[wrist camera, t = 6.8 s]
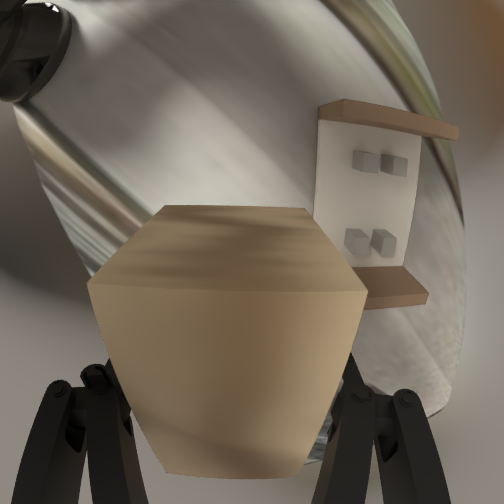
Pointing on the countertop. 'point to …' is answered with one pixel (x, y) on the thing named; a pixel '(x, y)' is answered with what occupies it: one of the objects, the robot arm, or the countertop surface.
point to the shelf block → (229, 335)
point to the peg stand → (372, 192)
